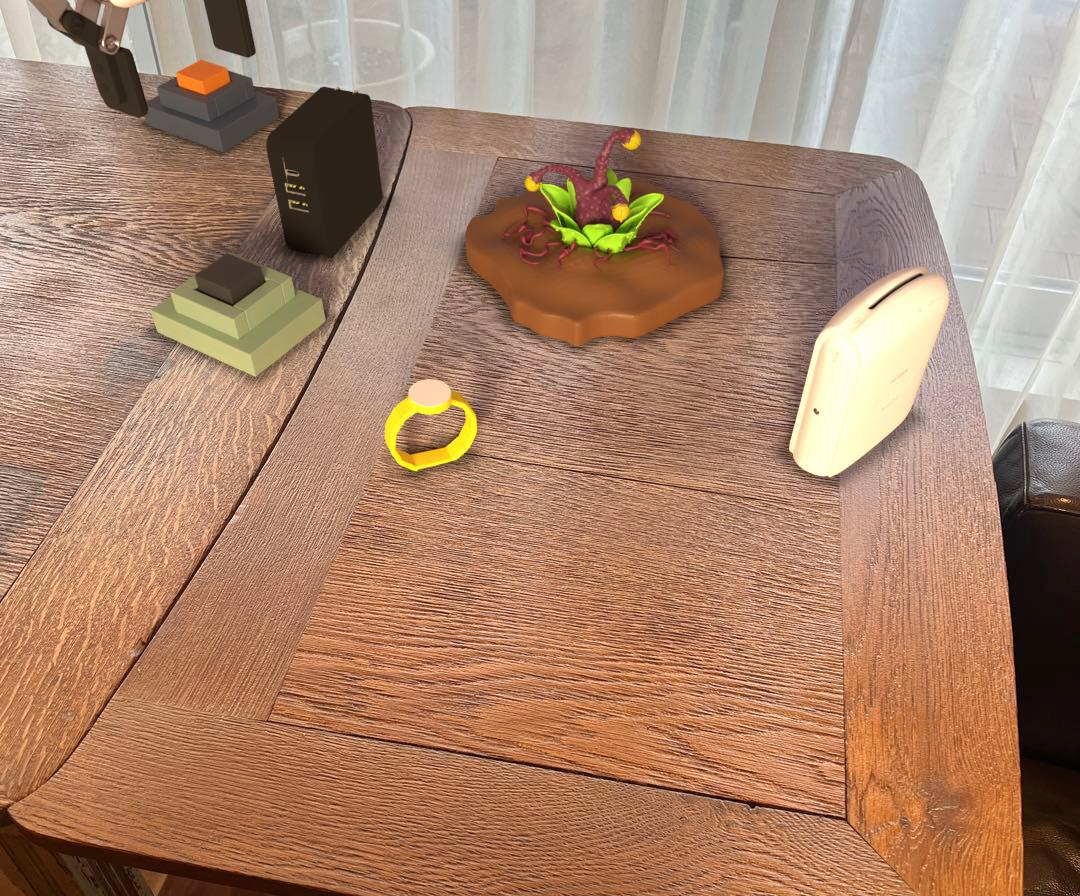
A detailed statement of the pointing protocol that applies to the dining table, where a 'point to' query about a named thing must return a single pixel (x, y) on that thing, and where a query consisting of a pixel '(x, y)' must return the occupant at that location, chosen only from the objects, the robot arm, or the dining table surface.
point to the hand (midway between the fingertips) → (183, 80)
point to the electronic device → (325, 170)
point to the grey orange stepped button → (212, 112)
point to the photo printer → (867, 369)
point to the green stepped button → (241, 321)
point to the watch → (430, 401)
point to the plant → (596, 253)
